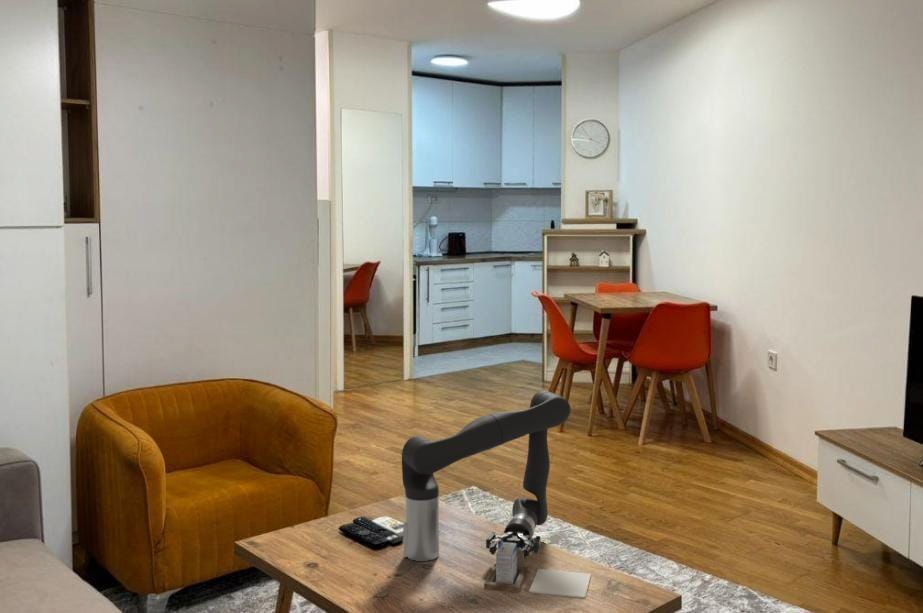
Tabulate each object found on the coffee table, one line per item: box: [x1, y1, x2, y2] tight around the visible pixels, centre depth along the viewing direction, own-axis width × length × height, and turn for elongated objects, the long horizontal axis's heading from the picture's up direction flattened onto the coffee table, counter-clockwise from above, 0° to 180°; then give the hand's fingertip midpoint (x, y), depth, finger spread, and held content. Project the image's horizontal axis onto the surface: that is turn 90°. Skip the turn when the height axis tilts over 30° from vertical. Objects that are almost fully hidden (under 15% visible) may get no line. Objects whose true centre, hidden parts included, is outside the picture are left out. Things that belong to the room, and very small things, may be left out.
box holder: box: [483, 563, 529, 593], centre depth 226 cm, size 9×13×1 cm
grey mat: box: [528, 568, 592, 599], centre depth 223 cm, size 14×14×1 cm
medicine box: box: [495, 542, 518, 584], centre depth 225 cm, size 8×4×9 cm, turn 168°
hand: (508, 552), depth 227 cm, fingers open, 8 cm apart
